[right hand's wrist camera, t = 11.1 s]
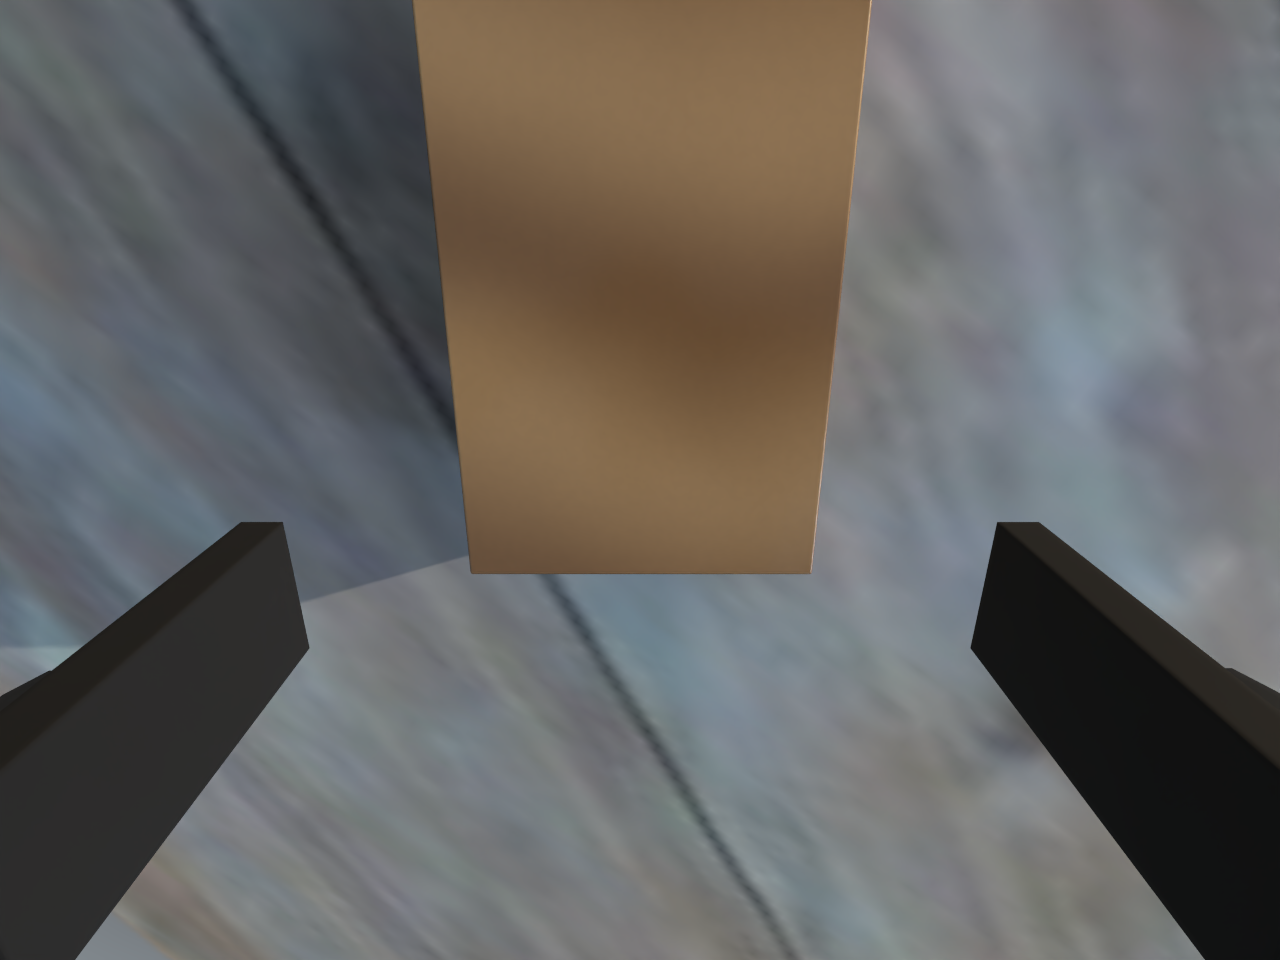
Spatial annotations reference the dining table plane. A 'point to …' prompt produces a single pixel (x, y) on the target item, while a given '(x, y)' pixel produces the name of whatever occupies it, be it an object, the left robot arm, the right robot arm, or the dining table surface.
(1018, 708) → the right robot arm
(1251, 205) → the dining table surface
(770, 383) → the cabinet
